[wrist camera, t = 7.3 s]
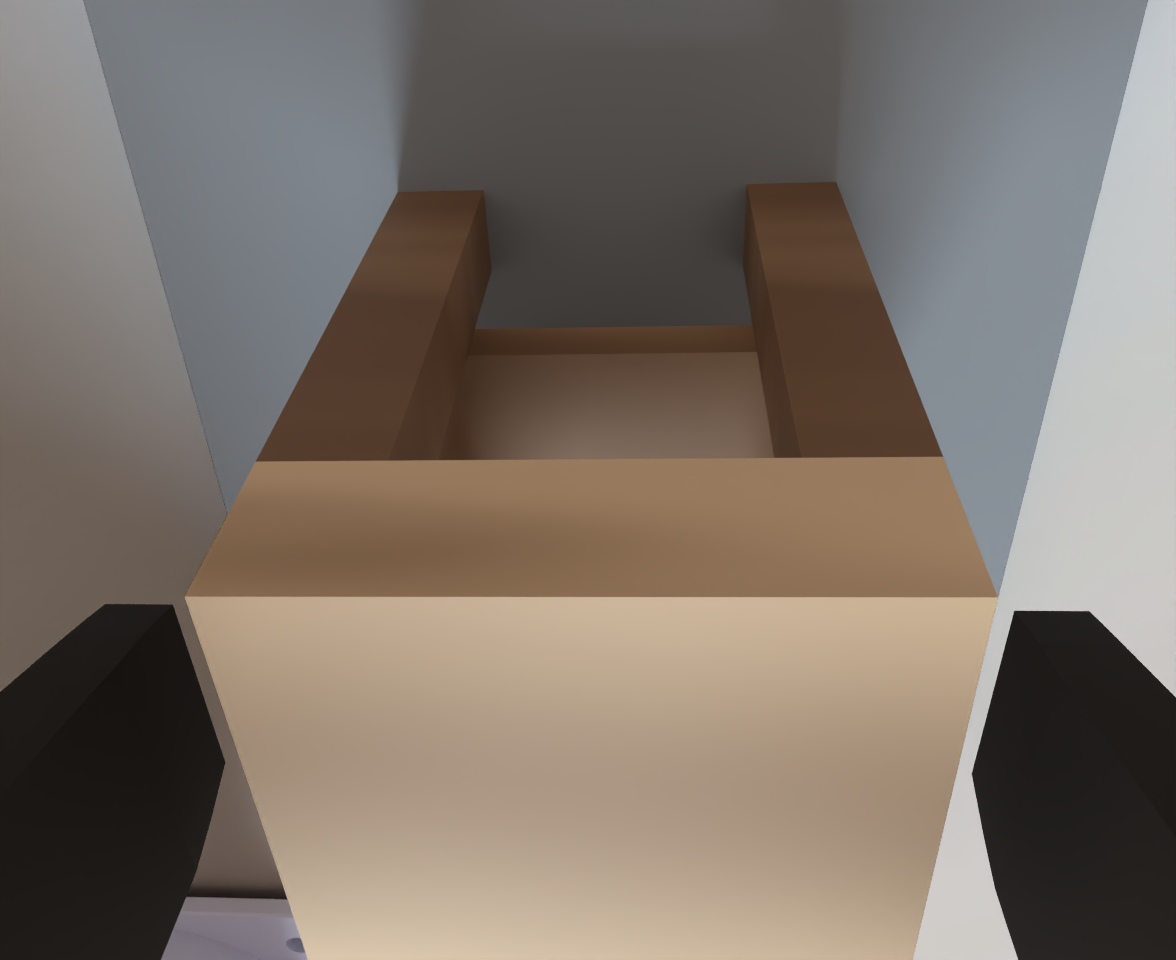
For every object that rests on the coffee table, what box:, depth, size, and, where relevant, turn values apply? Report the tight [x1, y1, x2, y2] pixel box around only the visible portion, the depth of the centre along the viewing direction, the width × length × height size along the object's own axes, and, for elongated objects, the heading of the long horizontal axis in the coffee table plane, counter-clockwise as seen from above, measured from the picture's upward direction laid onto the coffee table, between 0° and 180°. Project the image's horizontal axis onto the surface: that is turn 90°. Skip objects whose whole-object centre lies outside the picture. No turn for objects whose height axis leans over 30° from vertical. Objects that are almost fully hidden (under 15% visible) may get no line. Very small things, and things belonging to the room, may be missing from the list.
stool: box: [185, 182, 998, 960], centre depth 11 cm, size 5×5×7 cm
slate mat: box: [83, 0, 1148, 596], centre depth 14 cm, size 14×11×1 cm
